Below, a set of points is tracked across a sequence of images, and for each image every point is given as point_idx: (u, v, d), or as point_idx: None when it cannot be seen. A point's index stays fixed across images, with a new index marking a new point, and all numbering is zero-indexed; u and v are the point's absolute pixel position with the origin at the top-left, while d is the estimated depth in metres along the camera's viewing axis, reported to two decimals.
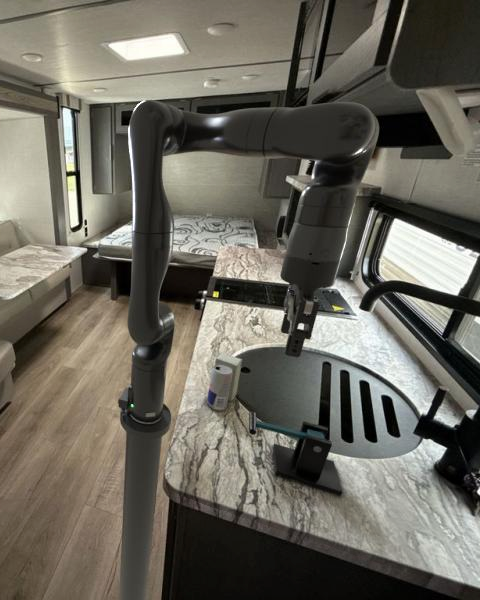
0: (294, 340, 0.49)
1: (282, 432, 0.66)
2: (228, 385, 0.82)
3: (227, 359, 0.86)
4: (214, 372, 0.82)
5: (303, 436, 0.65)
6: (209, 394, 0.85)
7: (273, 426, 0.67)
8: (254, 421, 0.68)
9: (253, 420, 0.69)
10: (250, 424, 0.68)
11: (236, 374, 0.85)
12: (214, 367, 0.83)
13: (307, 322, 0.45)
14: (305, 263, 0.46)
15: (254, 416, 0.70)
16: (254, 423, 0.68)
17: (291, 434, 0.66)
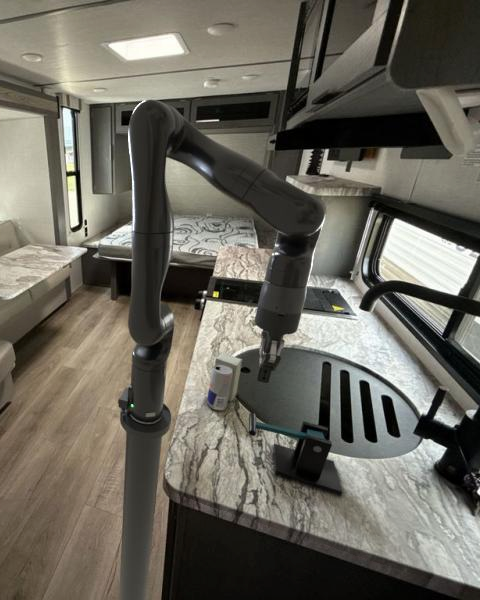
0: (263, 370, 0.62)
1: (282, 433, 0.66)
2: (228, 385, 0.82)
3: (227, 359, 0.86)
4: (214, 372, 0.82)
5: (303, 436, 0.65)
6: (209, 394, 0.85)
7: (273, 427, 0.67)
8: (254, 422, 0.69)
9: (253, 421, 0.69)
10: (250, 425, 0.68)
11: (236, 374, 0.85)
12: (214, 367, 0.83)
13: (271, 365, 0.58)
14: (273, 314, 0.56)
15: (254, 417, 0.70)
16: (253, 424, 0.68)
17: (291, 434, 0.66)
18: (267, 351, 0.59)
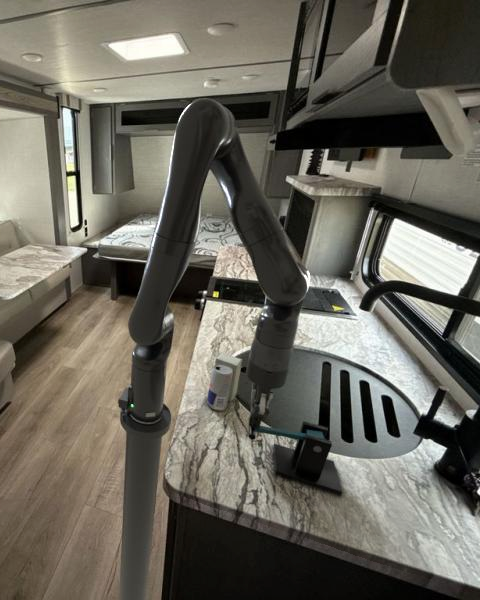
0: (254, 417, 0.67)
1: (282, 435, 0.66)
2: (228, 385, 0.82)
3: (227, 359, 0.86)
4: (214, 372, 0.82)
5: (303, 437, 0.65)
6: (209, 394, 0.85)
7: (272, 429, 0.67)
8: None
9: None
10: (249, 429, 0.68)
11: (236, 374, 0.85)
12: (214, 367, 0.83)
13: (261, 416, 0.63)
14: (262, 370, 0.60)
15: None
16: (253, 428, 0.68)
17: (291, 436, 0.66)
18: (257, 402, 0.64)
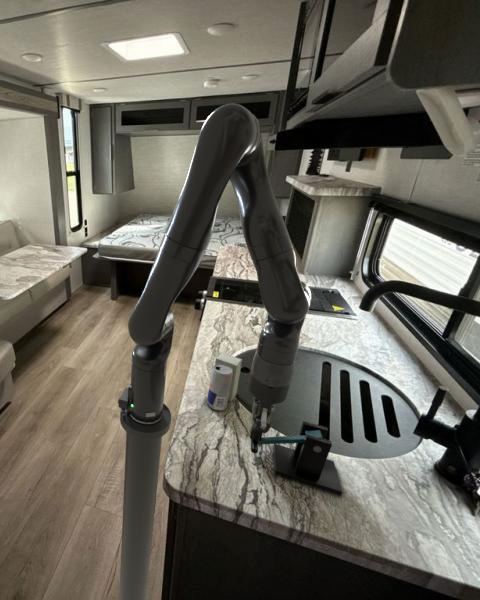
0: (255, 430, 0.68)
1: (283, 442, 0.67)
2: (228, 385, 0.82)
3: (227, 359, 0.86)
4: (214, 372, 0.82)
5: (303, 439, 0.65)
6: (209, 394, 0.85)
7: (273, 438, 0.68)
8: None
9: None
10: (251, 443, 0.69)
11: (236, 374, 0.85)
12: (214, 367, 0.83)
13: (262, 430, 0.64)
14: (263, 386, 0.61)
15: None
16: (254, 441, 0.69)
17: (291, 441, 0.66)
18: (259, 416, 0.65)
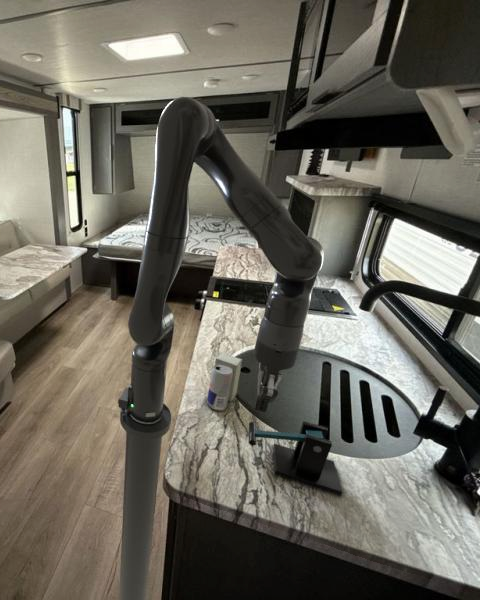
0: (261, 400, 0.65)
1: (282, 438, 0.67)
2: (228, 385, 0.82)
3: (227, 359, 0.86)
4: (214, 372, 0.82)
5: (303, 438, 0.65)
6: (209, 394, 0.85)
7: (272, 433, 0.68)
8: (253, 431, 0.69)
9: (252, 430, 0.70)
10: (249, 435, 0.69)
11: (236, 374, 0.85)
12: (214, 367, 0.83)
13: (268, 398, 0.61)
14: (271, 350, 0.58)
15: (253, 426, 0.71)
16: (252, 433, 0.69)
17: (291, 438, 0.66)
18: (265, 384, 0.62)
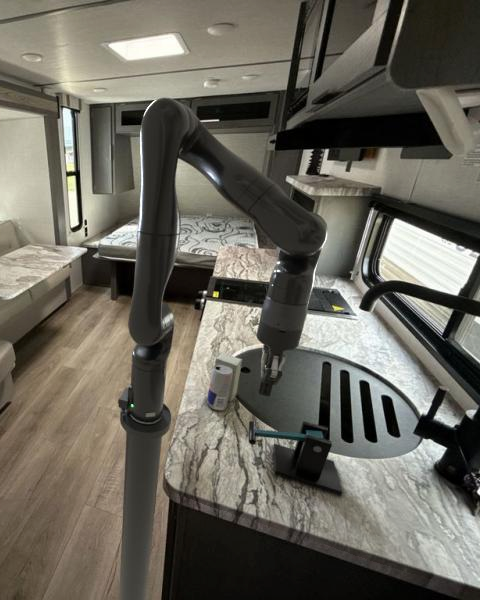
0: (265, 384, 0.63)
1: (282, 437, 0.67)
2: (228, 385, 0.82)
3: (227, 359, 0.86)
4: (214, 372, 0.82)
5: (303, 438, 0.65)
6: (209, 394, 0.85)
7: (272, 432, 0.68)
8: (253, 430, 0.69)
9: (252, 429, 0.70)
10: (249, 434, 0.69)
11: (236, 374, 0.85)
12: (214, 367, 0.83)
13: (272, 380, 0.59)
14: (274, 330, 0.57)
15: (253, 425, 0.71)
16: (252, 432, 0.69)
17: (291, 438, 0.66)
18: (269, 366, 0.60)
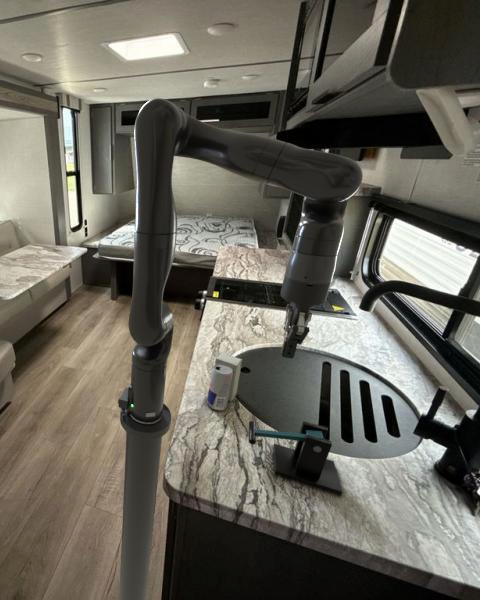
0: (289, 345, 0.61)
1: (282, 437, 0.67)
2: (228, 385, 0.82)
3: (227, 359, 0.86)
4: (214, 372, 0.82)
5: (303, 438, 0.65)
6: (209, 394, 0.85)
7: (272, 432, 0.68)
8: (253, 430, 0.69)
9: (252, 429, 0.69)
10: (249, 434, 0.69)
11: (236, 374, 0.85)
12: (214, 367, 0.83)
13: (298, 338, 0.57)
14: (301, 285, 0.55)
15: (253, 425, 0.71)
16: (252, 432, 0.69)
17: (291, 438, 0.66)
18: (294, 324, 0.58)
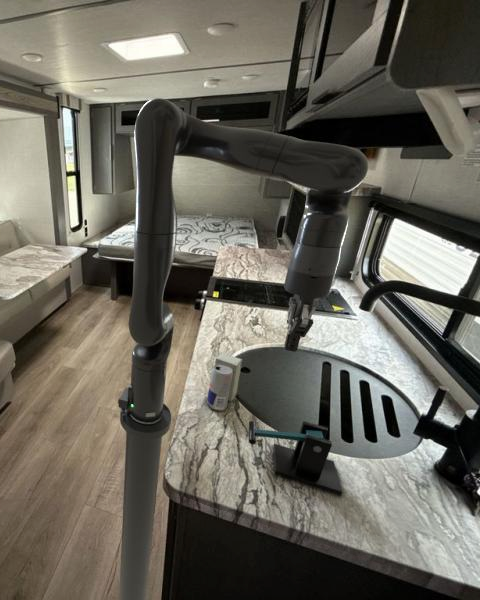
0: (292, 338, 0.61)
1: (282, 437, 0.67)
2: (228, 385, 0.82)
3: (227, 359, 0.86)
4: (214, 372, 0.82)
5: (303, 438, 0.65)
6: (209, 394, 0.85)
7: (272, 432, 0.68)
8: (253, 430, 0.69)
9: (252, 429, 0.69)
10: (249, 434, 0.69)
11: (236, 374, 0.85)
12: (214, 367, 0.83)
13: (302, 331, 0.57)
14: (305, 277, 0.55)
15: (253, 425, 0.71)
16: (252, 432, 0.69)
17: (291, 438, 0.66)
18: (297, 316, 0.58)
